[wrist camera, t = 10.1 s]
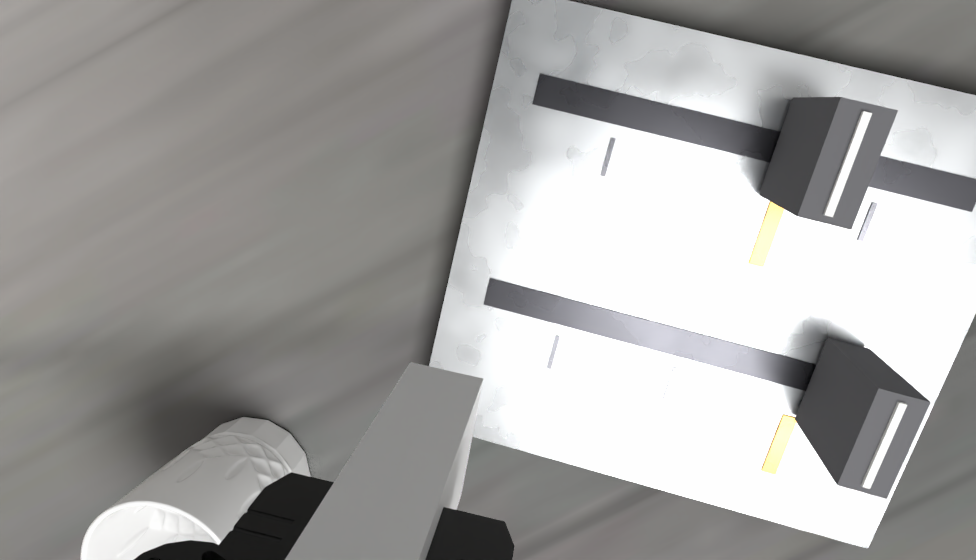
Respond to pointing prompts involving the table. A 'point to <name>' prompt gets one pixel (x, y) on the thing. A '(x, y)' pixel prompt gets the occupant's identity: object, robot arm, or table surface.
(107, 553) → the white cup
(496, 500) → the table surface
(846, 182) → the fader
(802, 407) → the fader tab
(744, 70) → the console
